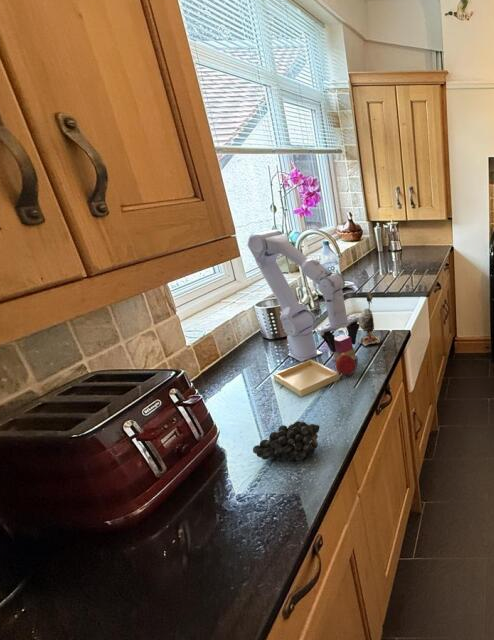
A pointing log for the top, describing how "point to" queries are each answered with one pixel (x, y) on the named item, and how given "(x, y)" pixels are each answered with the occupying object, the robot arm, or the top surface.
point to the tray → (306, 377)
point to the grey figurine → (368, 324)
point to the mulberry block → (343, 343)
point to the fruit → (289, 442)
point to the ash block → (349, 353)
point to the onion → (345, 365)
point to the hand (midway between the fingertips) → (343, 347)
